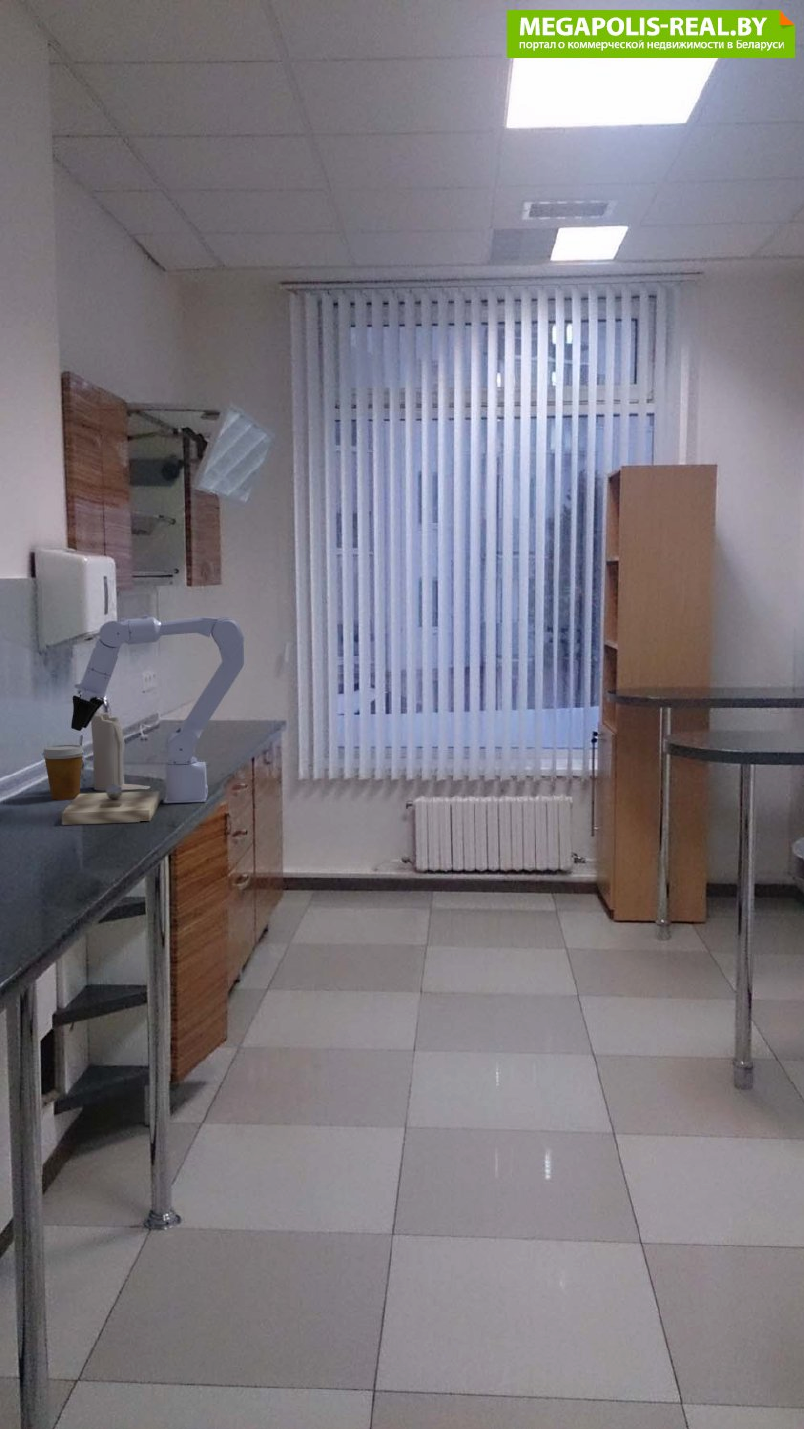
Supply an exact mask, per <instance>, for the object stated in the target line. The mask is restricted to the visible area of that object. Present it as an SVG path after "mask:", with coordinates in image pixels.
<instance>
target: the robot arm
mask: <svg viewBox="0 0 804 1429" xmlns="http://www.w3.org/2000/svg"><path fill="white" fill-rule="evenodd" d="M183 634H185V635H187V634H200V635H202V636H205V637H208V638H212V639H213V641H214V642H215V644H216V645H217V647H218V650H219V655H220V657H221V663H220V665H219V666H218V667H217V669H216V671H215V672H214V674H213V675H212V677H211V679H210V680H209V682H208V683H207V685H206V686H205V688H204V690H203V691H202V693H201V694H200V696H199V697H198V699H197V701H196V702H195V704H194V705H193V707H192V708H191V710H190V712H189V713H188V715H187V716H186V718H185V719H184V720H183V721H182V722H181V724H180V725H179V727H178V728H177V729H176V730H175V731H173V732H172V733H170V734H169V735H168V737H167V738H166V742H165V747H166V753H167V756H168V757H167V758H166V759H165V760H164V765H165V766H164V767H165V768H164V769H165V770H164V771H165V792H166V794H165V795H166V796H165V798H164V799H163V804H175V803H176V804H178V803H179V804H180V803H181V804H182V803H204V802H205V803H206V801H207V798H208V793H209V789H208V788H209V786H208V784H207V782H208V780H207V764H206V763H207V762H205V761H198V759H197V757H195V752H196V746H197V743H198V741H199V740H200V738H201V735H202V733H203V731H204V729H205V727H206V726H207V725H208V723H209V721H210V720H211V718H212V716H213V715H214V713H215V711H217V709H218V707H219V706H220V704H221V702H222V701H223V699H224V698H225V696H226V694H227V693H228V692H229V690H230V688H231V687H232V685H233V683H234V682H235V681H236V679H237V677H238V675H239V674H240V673H241V670H242V669H243V667H244V665H245V648H244V647H245V646H244V645H245V644H244V642H245V637H244V634H243V632H242V629H241V626H240V624H239V623H238V622H237V621H236V620H235V619H232V618H229V617H226V616H225V617H224V616H222V617H219V618H218V617H213V616H212V617H211V616H197V617H190V618H181V619H175V620H173V619H172V620H165V621H159V619H157V618H155V617H154V616H149V615H148V614H143V615H141V617H139V618H137V617H136V618H129V619H126V617H121V618H120V622H119V621H117V620H109V621H107V622H105V623H104V624H103V625H102V626H101V628H99V638H98V639H97V640H96V642H95V647H94V648H93V649H92V652H91V655H90V657H89V660H88V662H87V666H86V668H85V672H84V674H83V677H82V679H81V682H80V684H78V683H74V686H73V687H74V688H76V689H78V690H79V691H80V692H81V693H80V694H79V695H78V696H77V695H73V696H72V704H73V707H72V708H73V709H72V710H73V712H72V718H71V726H70V728H71V729H73V730H75V731H78V732H81V731H82V730H83V729H87V728H88V726H89V725H90V724H91V719H92V718H93V716H94V714H95V713H96V711H97V710H98V711H99V709H100V708H101V707H102V706H103V705H104V704H105V701H104V700H102V699H104V698H105V697H106V693H107V689H108V687H109V684H110V680H111V678H112V676H113V674H114V670H115V667H116V666H117V665H116V664H117V661H118V659H119V652H120V649H121V646H123V644H127V645H128V646H129V645H138V644H139V645H140V644H149V643H157V642H158V641H159V639H160V638H161V637H163V636H170V635H171V636H172V635H173V636H174V635H183ZM100 698H102V699H100Z"/></svg>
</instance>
